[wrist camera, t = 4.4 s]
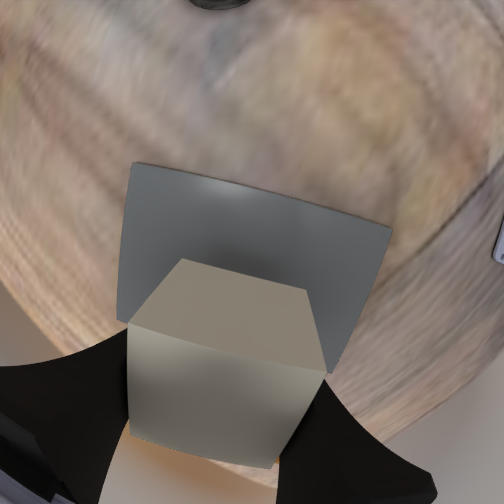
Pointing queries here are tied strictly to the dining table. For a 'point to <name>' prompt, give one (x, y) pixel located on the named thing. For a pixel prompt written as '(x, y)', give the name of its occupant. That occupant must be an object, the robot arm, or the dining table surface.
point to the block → (222, 365)
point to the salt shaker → (218, 4)
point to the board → (248, 245)
